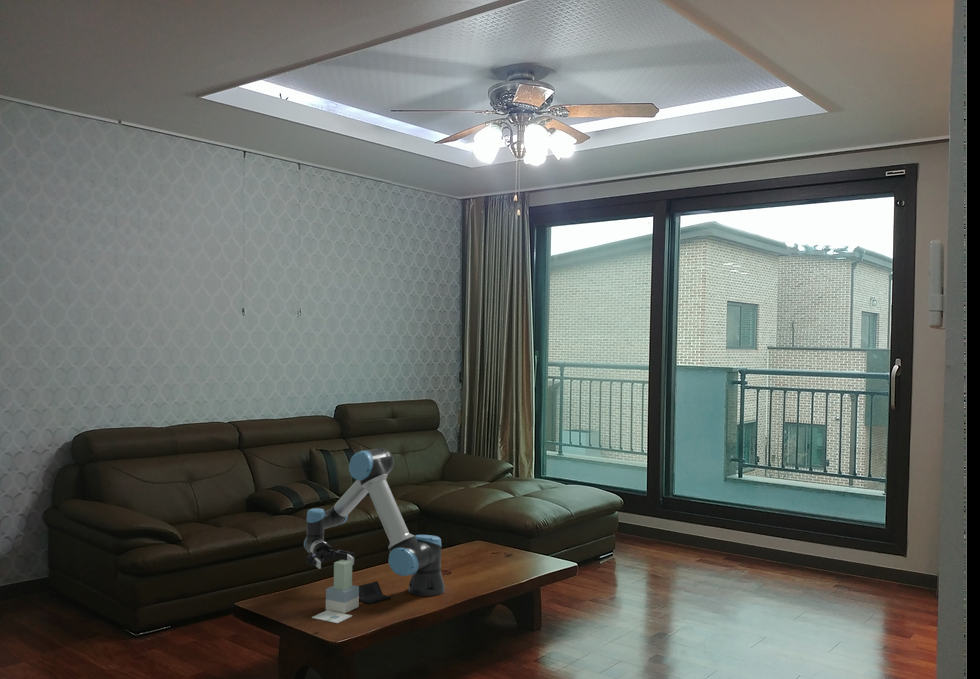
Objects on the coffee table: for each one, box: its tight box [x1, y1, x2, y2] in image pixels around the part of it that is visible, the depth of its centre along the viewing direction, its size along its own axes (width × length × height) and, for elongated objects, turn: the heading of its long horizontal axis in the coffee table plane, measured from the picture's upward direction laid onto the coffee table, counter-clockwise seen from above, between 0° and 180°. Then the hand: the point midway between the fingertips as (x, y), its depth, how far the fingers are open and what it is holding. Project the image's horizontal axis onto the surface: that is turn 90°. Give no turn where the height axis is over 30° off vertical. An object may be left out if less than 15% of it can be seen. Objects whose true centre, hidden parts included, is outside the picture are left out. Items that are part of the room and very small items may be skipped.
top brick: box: [333, 559, 353, 590], centre depth 303 cm, size 5×5×10 cm
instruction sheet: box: [311, 610, 353, 624], centre depth 293 cm, size 12×9×1 cm
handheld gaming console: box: [358, 581, 391, 606], centre depth 315 cm, size 12×7×10 cm
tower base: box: [325, 584, 360, 614], centre depth 303 cm, size 9×9×8 cm
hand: (336, 563), depth 311 cm, fingers open, 13 cm apart
